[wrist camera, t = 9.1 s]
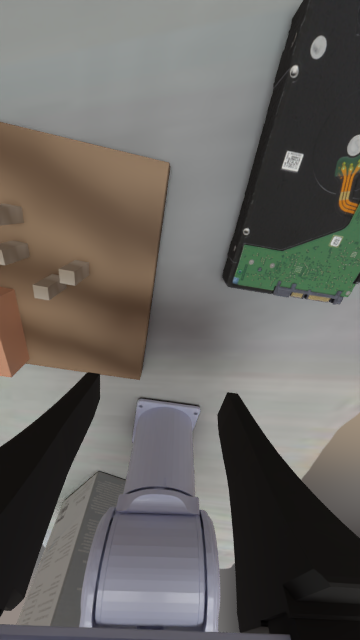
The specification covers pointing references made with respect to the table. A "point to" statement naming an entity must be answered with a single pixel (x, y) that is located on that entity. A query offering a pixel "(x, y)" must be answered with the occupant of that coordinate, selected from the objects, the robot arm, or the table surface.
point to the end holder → (11, 335)
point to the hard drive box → (69, 555)
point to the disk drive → (306, 166)
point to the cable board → (80, 248)
